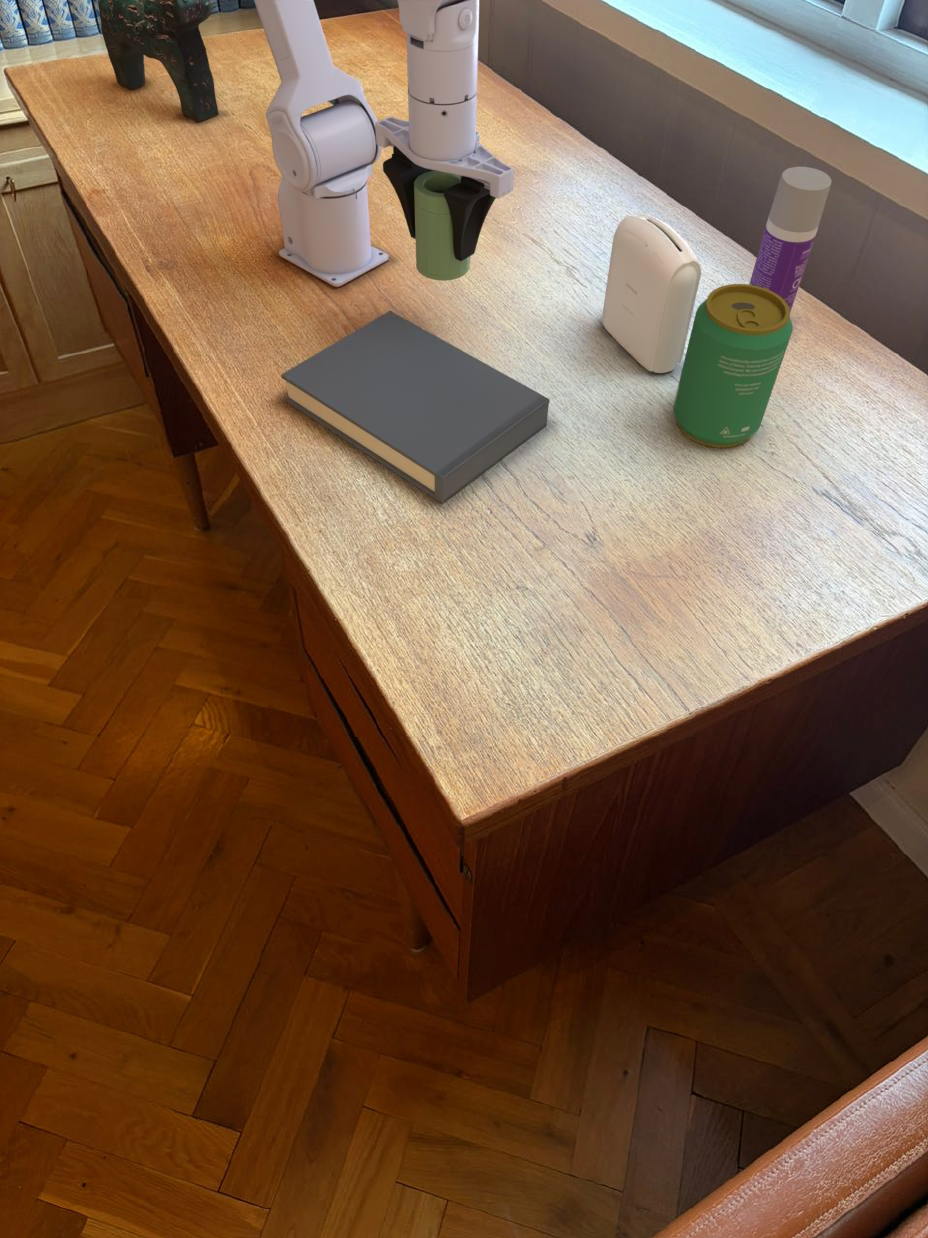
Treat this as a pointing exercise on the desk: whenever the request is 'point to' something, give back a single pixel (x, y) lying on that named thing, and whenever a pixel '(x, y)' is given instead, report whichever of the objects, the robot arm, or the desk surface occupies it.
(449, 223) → the jar
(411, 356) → the book
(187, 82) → the ceramic cat
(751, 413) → the beverage can
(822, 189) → the container
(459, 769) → the desk surface
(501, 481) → the desk surface
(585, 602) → the desk surface
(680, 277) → the photo printer
